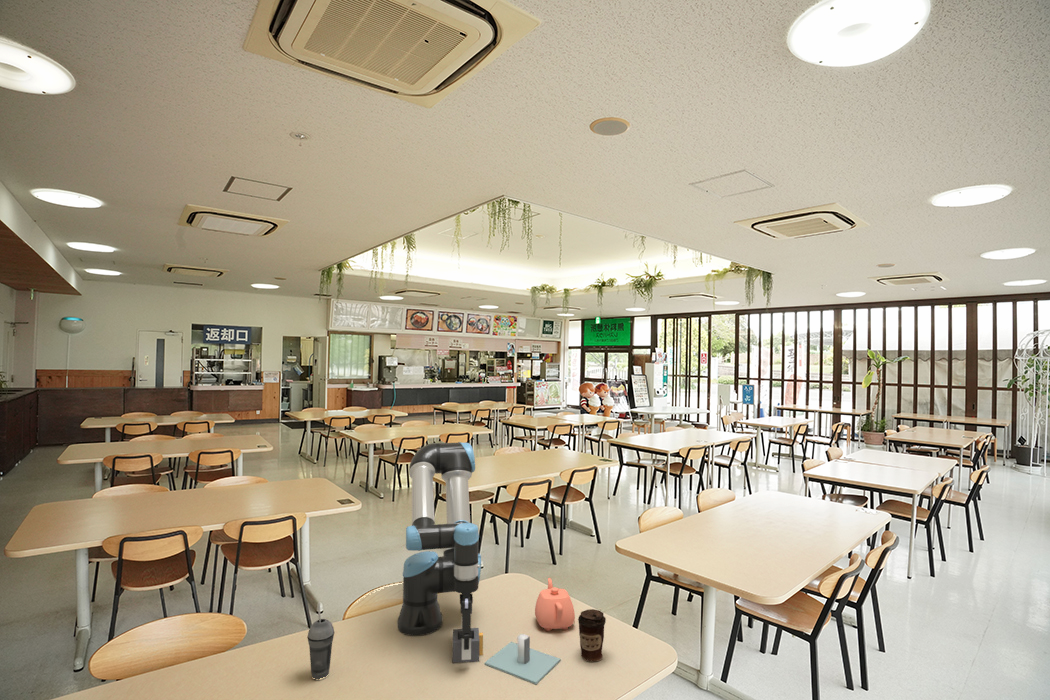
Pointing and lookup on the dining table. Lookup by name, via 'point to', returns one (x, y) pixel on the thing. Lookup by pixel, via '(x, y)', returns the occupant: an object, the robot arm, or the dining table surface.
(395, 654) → the dining table surface
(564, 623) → the teapot
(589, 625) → the coffee cup
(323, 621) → the beverage cup
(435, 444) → the robot arm
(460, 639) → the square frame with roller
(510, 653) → the board
